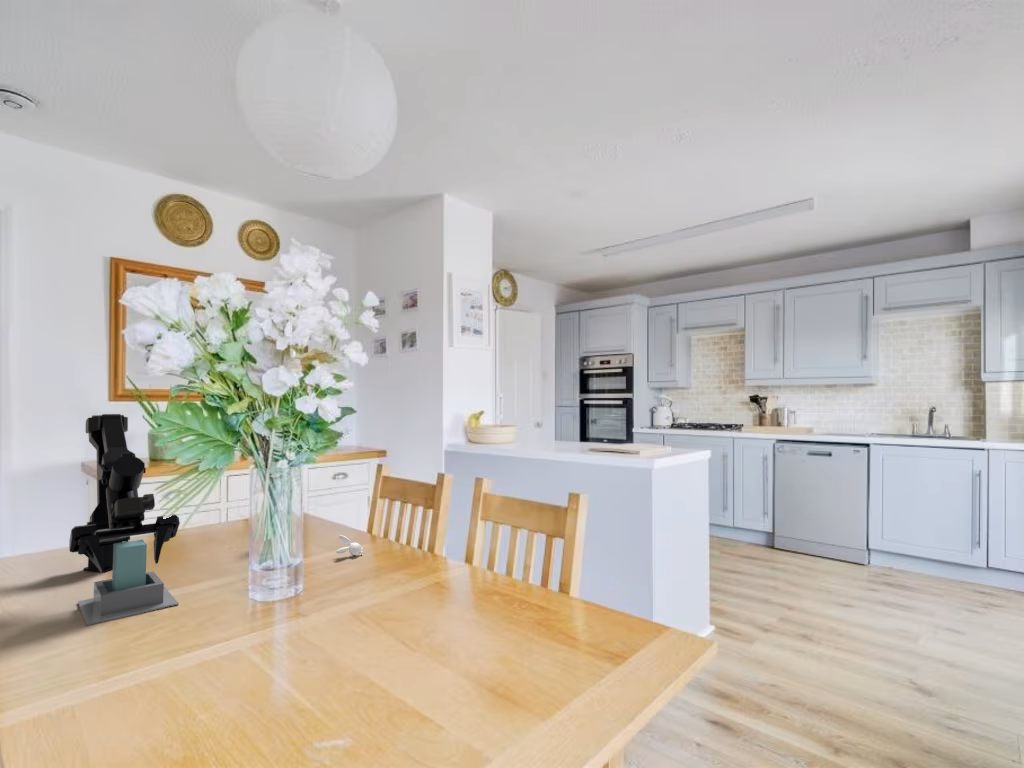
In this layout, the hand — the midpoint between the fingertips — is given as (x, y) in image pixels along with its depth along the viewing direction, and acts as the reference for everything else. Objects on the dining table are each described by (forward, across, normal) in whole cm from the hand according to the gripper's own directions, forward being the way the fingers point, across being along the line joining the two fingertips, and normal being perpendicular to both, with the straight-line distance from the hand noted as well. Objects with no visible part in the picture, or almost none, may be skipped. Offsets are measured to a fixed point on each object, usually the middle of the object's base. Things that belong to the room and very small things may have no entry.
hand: (130, 566), depth 110 cm
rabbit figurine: (+4, +50, +8) cm, 50 cm away
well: (+5, 0, +7) cm, 8 cm away
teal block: (+4, 0, +6) cm, 8 cm away
